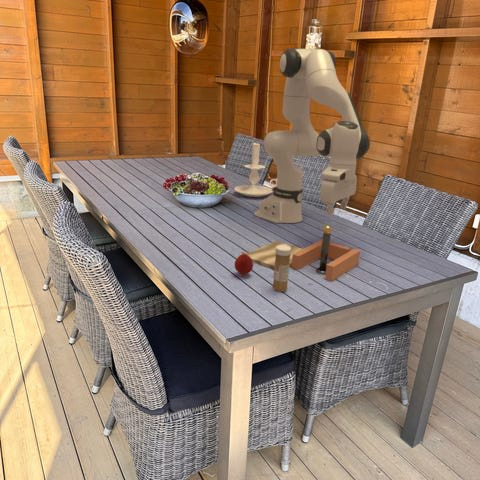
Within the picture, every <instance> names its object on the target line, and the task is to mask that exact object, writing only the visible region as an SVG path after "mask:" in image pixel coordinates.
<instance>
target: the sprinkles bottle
mask: <svg viewBox="0 0 480 480" xmlns="http://www.w3.org/2000/svg"><path fill="white" fill-rule="evenodd" d="M275 253H276V258H275V268H274V269H273V270H274V271H273V283H272V289H273V290H274V291H276V292H286V291H287V290H288V281H289V274H290V273H289V271H290V267H289V265H290V254H291V247H289V246H287V245H278V246H276V250H275Z"/></svg>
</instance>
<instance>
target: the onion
mask: <svg viewBox="0 0 480 480" xmlns="http://www.w3.org/2000/svg"><path fill="white" fill-rule="evenodd" d="M234 269H235V270H236V272H237V273H239V274H240V275H241V276H243V277H245V276H246V275H248V274H250V272H252V270H253V269H254V262H252V259H251V258H250V257H249V256H248V255H247V253H246V252H245V251H242V252H241V254H240V255H238V257H237V258H236V259H235V261H234Z"/></svg>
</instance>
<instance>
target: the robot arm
mask: <svg viewBox="0 0 480 480" xmlns="http://www.w3.org/2000/svg"><path fill="white" fill-rule="evenodd" d="M336 66H337V59H336V56H335V53H333V52H332V51H330V50H326V49H323V48H317V49H316V48H310V47H309V48H295V47H294V48H288V49H285V50H284V51H283V52H282V53H281V56H280V59H279V71H280V73H281V74H282V76H283V77H285V79H286V80H285V84H284V91H283V100H282V115H283V117H284V118H285V120H287V121H289V122H290V123H291V124H292V126H293V127H292V128H293V129H292V130H284V129H283V130H282V129H281V130H274V131H270V132H268V133H267V134H266V136H265V137H264V140H263V147H264V151H265V152H266V154H268V155H269V156H270V157H271V159H272V160H273V162H274V164H275V166H276V171H277V174H276V175H277V176H276V178H277V186H276V187H274V188H272V187H271V189H273V190H271V191H273V192H272V194H271V195H269V196H268V197H266V198H264V199H263V200H262V201H260V204H259V208H258V209H257V210H255V211H254V212H253V216H255V217H259V218H260V219H264V220H266V221H270V222H271V223H275V224H280V223H281V224H282V223H283V224H295V223H300V222H302V221H303V215H302V200H303V180H304V179H303V178H304V172H303V170H302V168H301V167H300V166H299V165H297V164H295V163H294V160H293V159H294V157H298V158H299V157H301V158H302V157H311V156H315V155H317V154H319V155H320V156H321V157H325V158H330V159H329V162H328V163H329V165H328V166H327V167H326V168H325V169H324V170H323V171H322V172H321V174H320V175H321V179H322V180H321V183H320V185H321V186H320V195H319V196H320V202H322V203H325V204H326V208H327V212H326V213H327V215H328V214H329V215H333V214H334V213H335V208H334V204H335V203H336V202H338V201H340V200H341V202H340V206H339V209H341V210H345V209H347V205H348V202H349V200H350V197H351V196H354V195H355V194H356V191H357V183H358V177H357V175H356V169H357V160H360V159H361V158H363V157H364V156H365V155H366V154H367V153H368V151H369V149H370V146H371V140H370V139H371V138H370V137H369V134H368V133H367V131H366V130H365V127H364V126H363V124H362V121H361V118H360V116H359V113H358V110H357V108H356V105H355V103H354V100H353V98H352V96H351V93H350V92H349V91H348V90H346V89H345V87H344V86H343V85H342V84H341V82H340V81H339V78H338V76H337V71H336ZM311 100H312V101H314V102H316V103H317V104H318V105H319V104H320V105H323V106H326V107H328V108H331V109H333V110H335V111H336V112H337V113H339V114H340V116H341V118H342V120H340V121H337V122H336V123H335V124H334V126H332V127H331V128H327V129H323V130H322V131H321V132H320V133H318V132H317V131H316V130H315V128H314V126H313V125H312V121H311V116H310V113H311V111H310V108H311Z"/></svg>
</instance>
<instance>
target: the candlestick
mask: <svg viewBox="0 0 480 480" xmlns="http://www.w3.org/2000/svg"><path fill="white" fill-rule="evenodd" d="M260 145H261V144H260V143H258V142H257V143H256V142H252V147H251V148H252V152H251V153H252V154H251V157H252V158H251V161H252V163H251V164H250V163H249V164H245V165H243V166H244V167H245V168H247V169H250V174H249V175H248V180H249V182H250V183H251V184H246V185H244V184H243V185H237V186H235V187H234V192H235V191H236V192H237V193H239V194H240V195H242V196H245V197H250V198H260V197H264V196H268V195H269V194H271V193H272V194H273V192H274V190H273V189H272V188H274V187H276V186H277V177H276V178H272V179H271V180H270V181H269V186H270V187H271V188H270V187H268V186H267V187H266V186H263V185H257V183H258V182H259V181H260V174H259V172H258V171H259V170H261V169H266V166H265V165H263V164H259V162H260V148H261V146H260ZM273 181H275V184H274V185H272V182H273ZM271 190H273V191H271Z"/></svg>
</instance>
